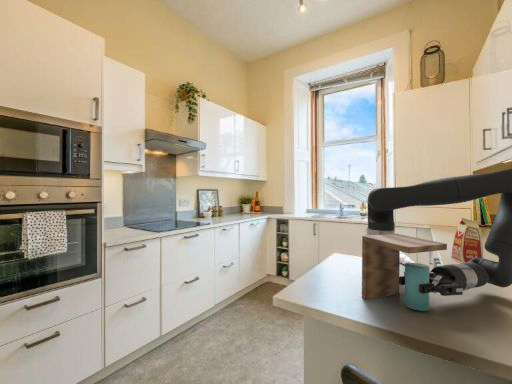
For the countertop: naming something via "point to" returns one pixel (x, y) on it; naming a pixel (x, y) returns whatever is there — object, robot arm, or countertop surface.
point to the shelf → (388, 261)
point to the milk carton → (467, 242)
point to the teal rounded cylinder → (416, 286)
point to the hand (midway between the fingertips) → (410, 285)
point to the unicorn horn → (405, 259)
